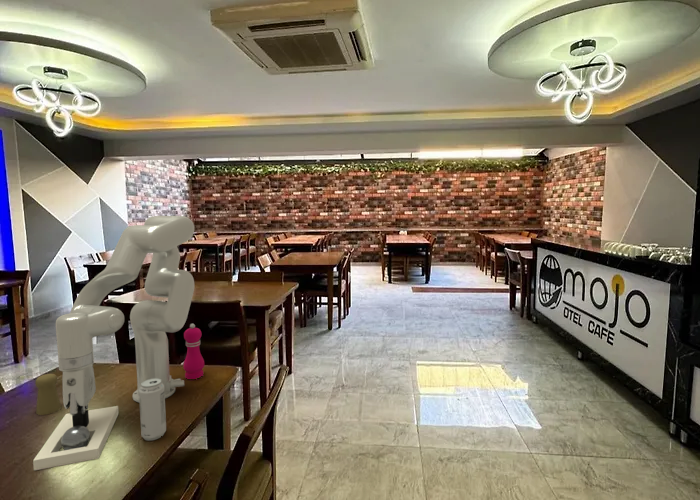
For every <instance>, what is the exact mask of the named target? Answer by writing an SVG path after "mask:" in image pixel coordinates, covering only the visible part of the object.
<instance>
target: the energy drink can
mask: <svg viewBox="0 0 700 500" xmlns="http://www.w3.org/2000/svg"><path fill="white" fill-rule="evenodd" d="M138 403H139V415H140V417H139V418H140V419H139V420H140V433H141V434H140V436H141V438H143V439H144V440H145V441H147V442H148V441H149V442H151V441H156V440H158V439H161V438H162V437H163V436H164V435H165V433H166V431H167V418H166V398H165V393H164V385H163V383H162V382H161V379H158V378H154V379H148V380H146V381H144V382H142V383H141V387H140V389H139V402H138ZM161 436H162V437H161Z"/></svg>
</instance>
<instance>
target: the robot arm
mask: <svg viewBox="0 0 700 500" xmlns="http://www.w3.org/2000/svg"><path fill="white" fill-rule="evenodd" d="M194 232H195V224H194V223H193V220H192V219H191V218H189V217H187V216H184V215H154V216H150V217H148V218H146V219H145V221H144V224H138V225H134V224H133V225H130V226H128V227H126V228H125V229H124V230H123V231H122V232H121V235H120V238H119V239H118V241H117V244H116V245H115V248H114V250H113V252H112V254H111V257H110V259H109V260H108V263H107V264H106V267H105V268H104V269H103V270H102V271H101V272H99V273H98V274H96V275H95V276H94V278H92V279H91V280H90V281H88V283H87V284H85V286H83V288H82V289H81V290H80V292H79V293H78V294H77V297H76V299H75V301H74V303H73V305H72V307H71V310H70V312H69V313H66V314H63V315H60V316H58V317H57V318H56V320H55V334H56V337H55V338H56V346H57V360H58V361H57V362H58V370H59V371H60V372H62V402H63V407H64V408H65V409H67V410H68V409H69V413H70V415H72V420H73V427H74V426H84V427H87V426H88V424H89V415H88V410H89V402H90V401H91V400H92V398H93V397H94V395H95V393H96V390H97V389H96V378H95V370H94V363H95V357H94V355H95V354H94V343H93V341H94V340H93V338H95V337H101V336H105V335H107V336H108V335H111V334H114V333H116V332H118V331H119V330H120V329H121V328H122V327H123V325H124V323H125V315H124V313H123V312H122V310H121V309H119V308H117V307H113V306H104V305H101V304H102V302H103V300H104V299H105V297H106V296H107V295H108V294H110V293H111V292H112V291H114V290H115V289H118V288H120V287H122V286H124V285H126V284H129V283H131V282H133V281H135V280H136V279H137V278H138V276H139V273H140V271H141V268H142V267H143V264H144V261H145V259H146V258H147V254H150V253H151V254H152V257H151V261H150V265H149V268H148V272H147V275H146V278H145V283H144V291H145V293H146V294H147V295H149V296H151V297H156V298H165V299H166V298H167V301H163V300H152V299H151V300H150V299H149V300H147V299H146V300H141V301H139V302H137V303H136V304H134V305H133V307H132V308H131V310H130V314H129V319H130V320H129V321H130V325H131V328H132V331H133V336H134V345H135V346H134V347H135V365H136V367H135V368H136V379H137V380H136V382H137V389H136V390H135V391H134V392H133V393H132V399H133V401H134V402H137V403H140V402H139V389H140V387H141V383H142V382H144V381H146V380H148V379H154V378H158V379H161V382H162V383H163V385H164V393H165V399H167V398H169V397H171V396H172V395H174V393H175V392H176V388H177V387H178V388H180V387H185V380H183V379H182V378H175V379H174V378H172V375H170V361H169V360H170V357H169V356H170V355H169V339H168V336H167V333H176V332H179V331H180V330H181V329H182V328H184V325H185V323H186V321H187V319H188V315H189V311H190V307H191V304H192V300H193V296H194V292H195V279H194V277H193V275H192V274H191V272H189V271H187V270H183V269H179V266H180V265H179V264H180V261H181V254H180V250H179V248H178V246H180V245H182V244H184V243H187V242H188V241H189V240H190V239H191V238H192V237H193V236H194Z"/></svg>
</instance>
